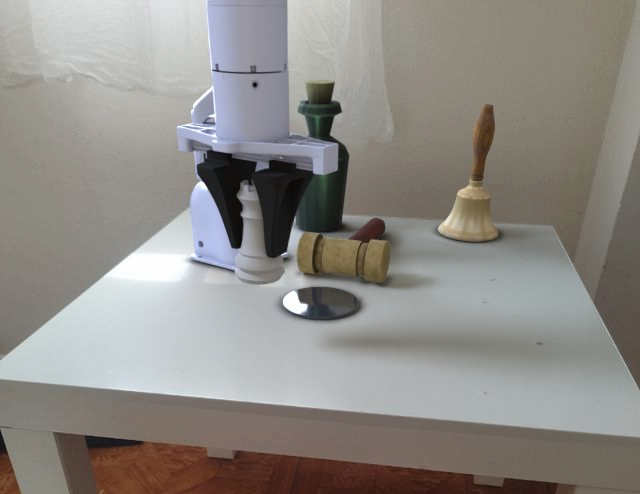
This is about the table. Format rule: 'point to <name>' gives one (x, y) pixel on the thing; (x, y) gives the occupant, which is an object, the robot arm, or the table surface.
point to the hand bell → (474, 190)
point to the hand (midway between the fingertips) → (258, 249)
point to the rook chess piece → (254, 243)
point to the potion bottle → (326, 190)
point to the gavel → (347, 253)
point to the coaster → (320, 303)
